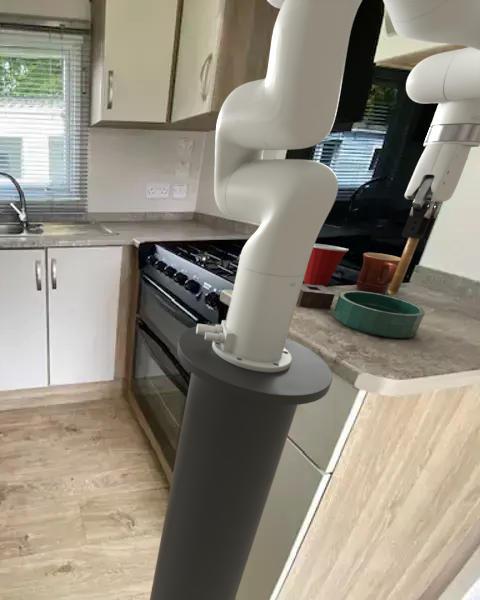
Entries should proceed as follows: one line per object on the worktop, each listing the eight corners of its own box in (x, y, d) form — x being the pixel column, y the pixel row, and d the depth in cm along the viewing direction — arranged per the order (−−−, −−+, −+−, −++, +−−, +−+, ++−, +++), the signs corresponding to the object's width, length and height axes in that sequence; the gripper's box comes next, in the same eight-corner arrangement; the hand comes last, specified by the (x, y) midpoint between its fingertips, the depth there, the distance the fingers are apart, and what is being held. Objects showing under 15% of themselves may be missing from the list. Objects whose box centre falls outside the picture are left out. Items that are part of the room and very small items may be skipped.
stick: (388, 295, 75) (422, 209, 69) (382, 292, 77) (415, 208, 71) (400, 297, 75) (435, 210, 68) (394, 293, 77) (428, 209, 70)
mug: (347, 284, 108) (358, 251, 104) (380, 288, 106) (393, 254, 102) (364, 297, 97) (377, 261, 93) (401, 301, 95) (416, 265, 91)
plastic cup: (338, 284, 107) (351, 245, 103) (333, 292, 100) (347, 251, 95) (298, 276, 114) (309, 239, 109) (290, 283, 106) (301, 244, 102)
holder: (299, 306, 88) (303, 291, 87) (290, 296, 95) (294, 282, 93) (330, 309, 87) (335, 294, 86) (318, 299, 93) (323, 285, 92)
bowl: (350, 334, 74) (359, 310, 72) (322, 309, 87) (329, 288, 85) (432, 344, 71) (443, 319, 69) (389, 316, 84) (398, 295, 82)
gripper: (440, 141, 72) (405, 232, 78) (412, 134, 64) (375, 235, 70) (493, 140, 66) (451, 238, 73) (469, 132, 58) (424, 243, 64)
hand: (414, 236), depth 71 cm, fingers closed on stick, 2 cm apart
